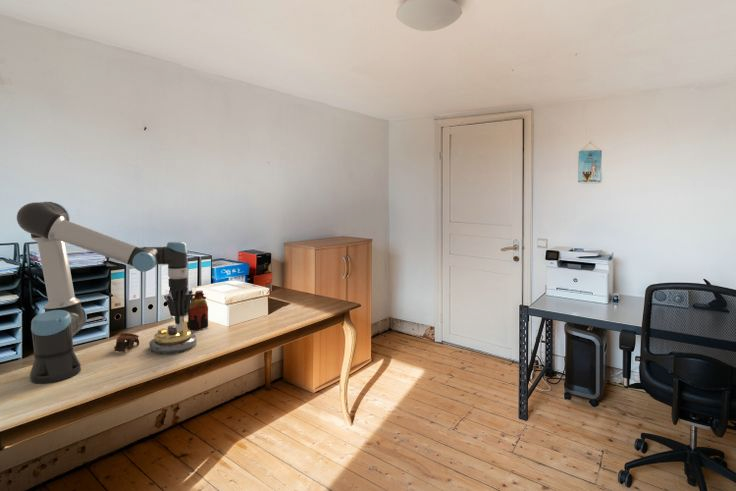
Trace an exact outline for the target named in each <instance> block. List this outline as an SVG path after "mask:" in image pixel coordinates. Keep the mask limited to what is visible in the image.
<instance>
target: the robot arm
mask: <svg viewBox="0 0 736 491" xmlns="http://www.w3.org/2000/svg"><path fill="white" fill-rule="evenodd" d="M70 218H71V217H70V213H69V211H68V209H66V207H64V206H63V205H61V204H59V203H56V202H53V201H40V202H29V203H26V204H25V205H23V206H22V207H20V208H19V209H18V211H17V214H16V221H17V224H18V226H19V227H20V228H21V229H22V230H23V231H24V232H26V233H29V234H30V236H31V237H30V238H31V240H33V241H35V242H36V243H37V248H38V253H39V258H40V264H41V269H42V274H43V278H44V284H45V289H46V290H45V291H46V295H47V300H48V302H47V303H46V304H45V305H44V312H43V313H38V314H37V315H35V316H34V317H33V318H32V320H31V322H30V324H31V325H30V331H31V337H32V345H33V346H32V347H33V355H34V360H33V363H32V367H31V371H30V373H29V378H30V382H31V383H35V384H48V383H49V384H50V383H55V382H60V381H64V380H67V379H70V378H72V377H74V376H76V375H78V374H79V373H80V372H81V370H82V368H81V363H80V361H79V359H78V357H77V355H76V353H75V350H74V342H73V341H74V340H73V337H74V336H75V335H76V334H77V333H78V332H79V331H81V330H82V329H83V327H84V326H85V324H86V322H87V319H88V316H87V311H86V309H85V308H84V307H82V304H81V299H79V298H77V297H76V295H75V290H74V284H73V279H72V273H71V267H70V266H71V265H70V261H69V256H68V250H67V246H66V244H69V245H71V246H75V247H78V248H81V249H83V250H87V251H90V252H92V253H95V254H97V255H101V256H103V257H106V258H109V259H111V260H114V261H118V262H121V263H123V264H126V265H128V266H130V267H133V268H134V269H135V270H137V271H139V272H143V273H144V272H148V271H151V270H153V269H154V267H156V266H159V265H167V277H168V287H169V291H168V294H166V295H164V296H163V298H164V299H165V301H166V303H167V307H168V311H169V314H170V316H171V317H174V323H175V324H174V325H176V328H177V331H183V322H184V321H185V319H184V318H185V316H186V315H187V314H188V309H189V308H190V303H191V301H190V300H191V296H192V294H193V290H189V288H188V284H189V283H188V282H189V280H188V251H187V244H186V242H184V241H169V242H167V244H166V246H142V247H141V246H140V247H139V246H136V245H134V244H131V243H128V242H126V241H123V240H120V239H118V238H116V237H115V238H114V237H112V236H109V235H106V234H103V233H101V232H99V231H97V230H93V229H90V228H88V227H85V226H83V225H80V224H77V223H74V222H71V221H70Z"/></svg>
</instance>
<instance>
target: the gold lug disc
mask: <svg viewBox="0 0 736 491" xmlns="http://www.w3.org/2000/svg"><path fill="white" fill-rule="evenodd" d="M187 322H188V320H187V321H186V320H184V322H183V331H178V333H176V334H168V328H160V329H158V330H157V332H156V333H155V334H154V335H153V336H154V337H153V339H154V342H155V343H156V344H158V345H174V344H179V343H183V342H186V341H188V340H189V339H191V334H192V331H191V330H190V329H188V327H187Z"/></svg>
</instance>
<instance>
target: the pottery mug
mask: <svg viewBox="0 0 736 491" xmlns="http://www.w3.org/2000/svg"><path fill="white" fill-rule="evenodd" d="M139 337H140V336H139V335H138V334H135V333H130V332H121V333H120V335H119V336H118V337H117V338H116V342H115V345H114V348H113V350H114V352H117V353H125V352H126V349H127V350H128V351H130V350H133V348H134V344H135V343H136V346H139V345H140V340H139Z"/></svg>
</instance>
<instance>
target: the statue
mask: <svg viewBox="0 0 736 491" xmlns="http://www.w3.org/2000/svg"><path fill="white" fill-rule="evenodd" d="M206 299H207V296H205V294H204V291H203V290H197V291H196V290H195V291H194V297H192V298H190V300H191V301H190V304H189V307H188V312H187V327H188V329H190V330H191V332H192V331H198V330H203V329H207V328H208V326H209V305H208V303H207V300H206Z"/></svg>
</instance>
